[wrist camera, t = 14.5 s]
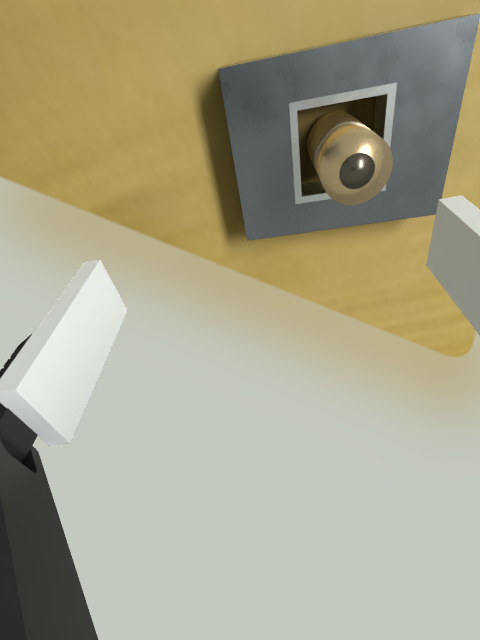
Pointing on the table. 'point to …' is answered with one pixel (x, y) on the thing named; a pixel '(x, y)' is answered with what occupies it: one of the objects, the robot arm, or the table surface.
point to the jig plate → (340, 86)
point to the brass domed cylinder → (349, 158)
